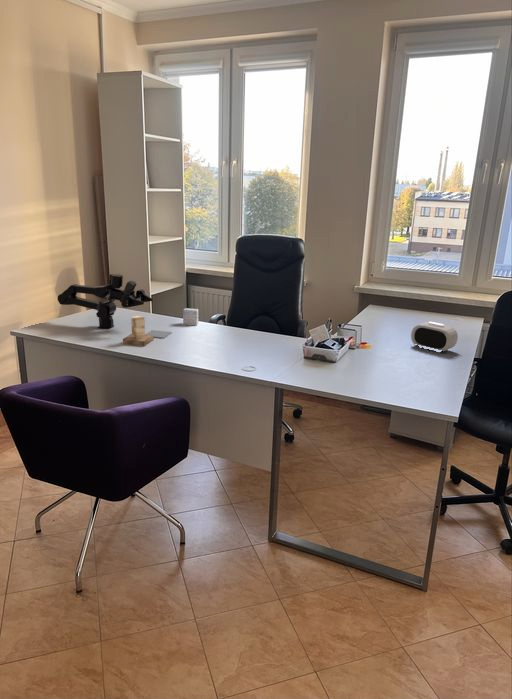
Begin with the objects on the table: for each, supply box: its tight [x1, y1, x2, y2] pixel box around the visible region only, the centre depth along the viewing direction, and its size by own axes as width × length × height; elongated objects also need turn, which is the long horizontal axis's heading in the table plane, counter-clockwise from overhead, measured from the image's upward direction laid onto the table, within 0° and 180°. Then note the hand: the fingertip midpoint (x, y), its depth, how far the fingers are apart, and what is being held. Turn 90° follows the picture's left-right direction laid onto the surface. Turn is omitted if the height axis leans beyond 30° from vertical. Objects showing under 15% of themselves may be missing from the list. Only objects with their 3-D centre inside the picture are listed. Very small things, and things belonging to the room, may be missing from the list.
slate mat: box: [145, 329, 173, 340], centre depth 260 cm, size 11×11×1 cm
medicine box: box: [182, 307, 199, 327], centre depth 282 cm, size 8×4×9 cm, turn 84°
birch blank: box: [130, 315, 146, 339], centre depth 245 cm, size 4×4×10 cm
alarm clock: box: [410, 321, 458, 352], centre depth 256 cm, size 21×10×13 cm, turn 47°
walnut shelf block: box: [122, 333, 154, 347], centre depth 246 cm, size 11×11×2 cm
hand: (148, 301), depth 258 cm, fingers open, 9 cm apart
